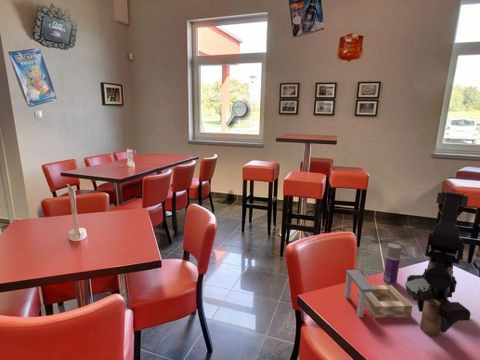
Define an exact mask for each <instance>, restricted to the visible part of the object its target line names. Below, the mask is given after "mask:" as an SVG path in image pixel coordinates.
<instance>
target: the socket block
mask: <svg viewBox="0 0 480 360" xmlns="http://www.w3.org/2000/svg"><path fill="white" fill-rule="evenodd" d="M370 285H371V286H372V287H373V288H374V289H375V291H374V292H366V296H365V305H364V307H366V309H367V310H368V311H369V312H370V314H371V315H372V317H373V318H374V319H375V318H377V319H380V318H381V319H386V318H411V317H412V312H413V305H412V304H411V303H410V301H408V300H407V299H406V298H405V297H404V296H403V295H402V294H401V293H400V292H399V291H398V290H397V289H396V288H395V287H394V286H393V285H390V284H377V285H376V284H375V285H372V284H370ZM359 290H360V289H359V288H358V287H357V298H359Z"/></svg>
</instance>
